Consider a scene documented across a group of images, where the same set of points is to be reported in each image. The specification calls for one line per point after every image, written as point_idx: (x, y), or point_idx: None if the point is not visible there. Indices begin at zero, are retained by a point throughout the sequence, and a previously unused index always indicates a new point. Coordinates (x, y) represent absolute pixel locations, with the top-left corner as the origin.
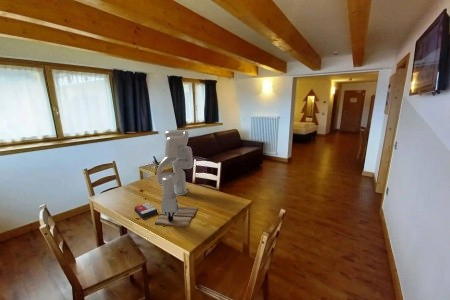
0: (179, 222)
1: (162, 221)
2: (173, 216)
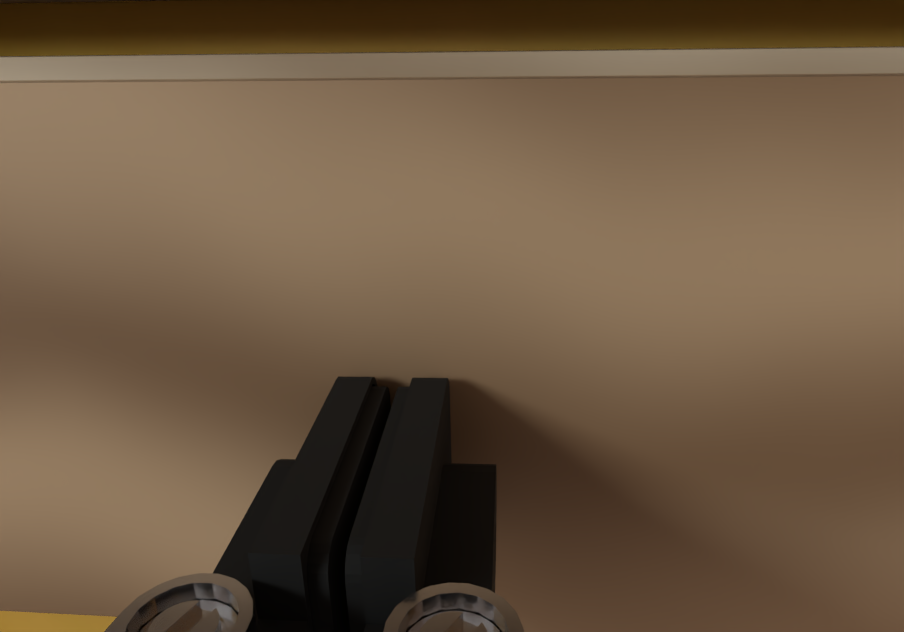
0: (824, 555)
1: (104, 531)
2: (383, 120)
